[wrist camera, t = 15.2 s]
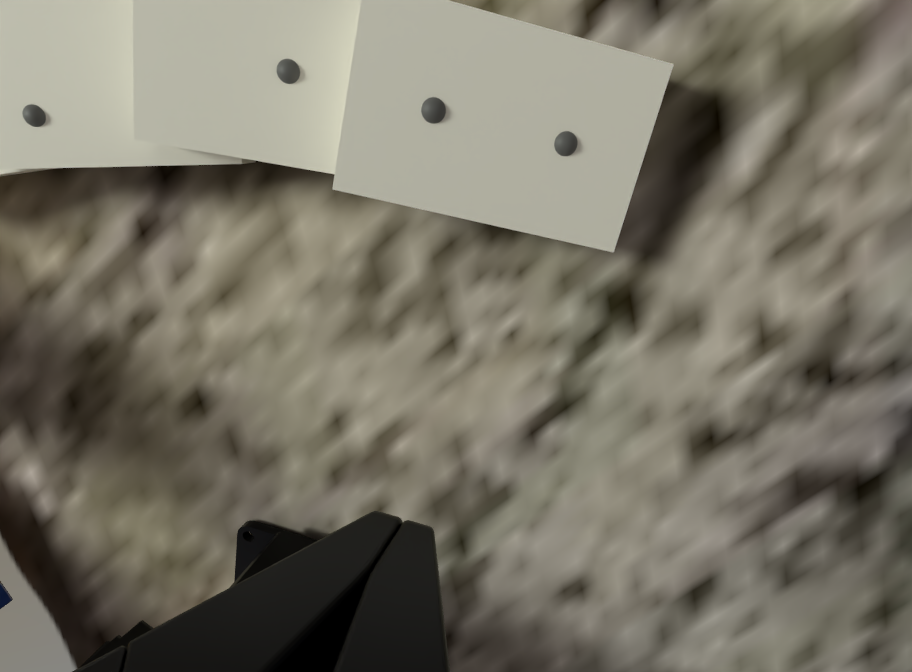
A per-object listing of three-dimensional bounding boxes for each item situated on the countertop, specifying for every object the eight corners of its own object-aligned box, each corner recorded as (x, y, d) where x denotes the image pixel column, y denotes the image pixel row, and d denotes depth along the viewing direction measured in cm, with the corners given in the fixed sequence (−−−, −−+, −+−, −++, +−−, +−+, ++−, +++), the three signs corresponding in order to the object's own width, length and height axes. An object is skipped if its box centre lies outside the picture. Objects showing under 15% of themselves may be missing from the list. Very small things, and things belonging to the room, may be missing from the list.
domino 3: (616, 254, 15) (331, 189, 14) (593, 242, 17) (340, 185, 16) (676, 62, 14) (364, -26, 13) (645, 72, 16) (370, -4, 15)
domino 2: (418, 189, 16) (130, 139, 15) (416, 185, 18) (159, 140, 17) (447, 0, 15) (129, -72, 14) (441, 16, 17) (161, -46, 15)
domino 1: (240, 164, 17) (-35, 170, 16) (255, 162, 19) (9, 168, 18) (214, -21, 16) (-93, -24, 15) (233, -3, 17) (-39, -4, 17)
